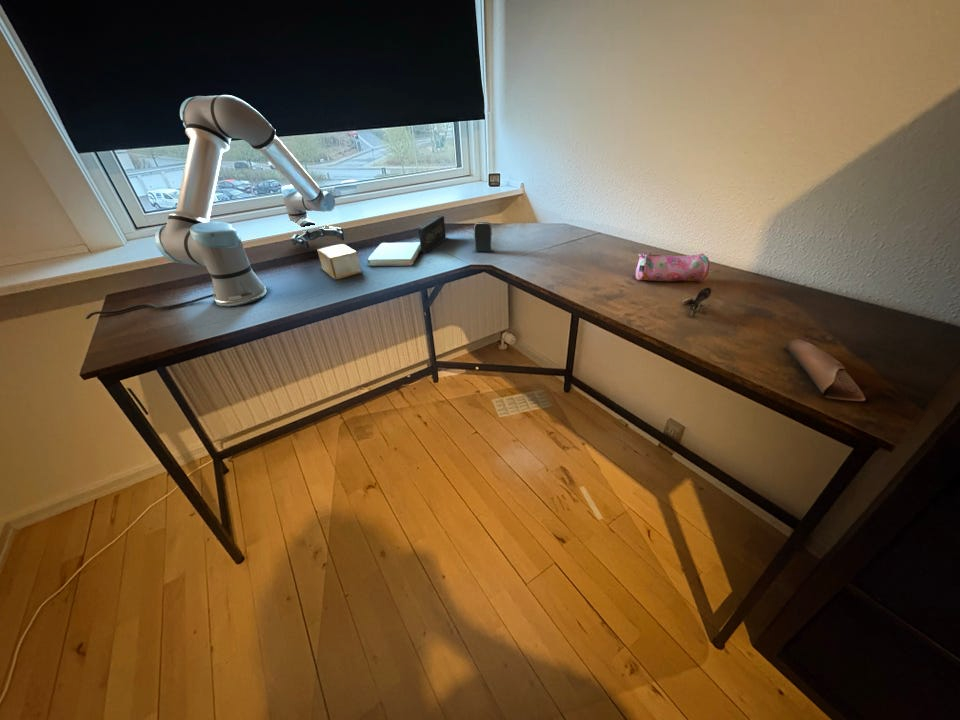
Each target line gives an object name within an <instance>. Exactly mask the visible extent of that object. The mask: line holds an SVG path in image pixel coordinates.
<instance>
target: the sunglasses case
mask: <svg viewBox="0 0 960 720" xmlns="http://www.w3.org/2000/svg"><path fill="white" fill-rule="evenodd" d="M785 348H786V350H787V351H788V352H789V354H791V356H792V357H793V358H794V359H795V360H796V361H797V362H798V363H799V365H800V366H801V368H802V369H803V371H805V373H807V375H808V377H809V378H810V379H811V380H812V382H813V383H814V384H815V386H816V388H818V390H819V391H820V393H822V394H823V396H824V398H825V399H830V400H834V401H835V400H836V401H842V402H843V401H844V402H866V401H867V399H866V397H865V394H864V393H863V391H862V390H861V389H860V387H859V386H858V384H857V383H856V382H855V380H854V379H853V378H852V377H851V376H850V374H849V373H848V372H847V371H846V367H845V366H844V365H843V364H842V363H841V362H840V361H839V360H838V359H836V358H835V357H833V356H832V355H831V354H829V353H828V352H827V351H825V350H823V349H822V348H819V347H817V346H816V345H814V344H812V343H810V342H808V341H805V340H803V339H800V338H797V339H796V338H795V339H793V340H791V341H789V342H788V343H787V344H786V345H785Z"/></svg>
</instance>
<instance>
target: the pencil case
mask: <svg viewBox="0 0 960 720" xmlns="http://www.w3.org/2000/svg"><path fill="white" fill-rule="evenodd" d="M637 256H638V262H637V265H636V268H635V279H636V280H638V281H654V282H678V281H687V282H691V281H694V282H699V283H702V282H703V281H704V280H705V279H706V278H707V276H708V274H709V271H710V260H709V257H708V256H707V255H705V254H704V253H697V254H690V255H669V254H668V255H666V254H658V253H652V252H648V253H646V252H645V253H638V254H637Z"/></svg>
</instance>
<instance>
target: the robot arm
mask: <svg viewBox="0 0 960 720" xmlns="http://www.w3.org/2000/svg"><path fill="white" fill-rule="evenodd" d="M179 117H180V120H181V121H182V122H183V123H182V125H183V127H184V128H185V130H184V134H185V135H186V136H187V137H188V139H189V143H188V147H187V154H186V157H185V158H186V159H185V162H184V168H183V172H182V179H181V184H180V187H179V193H178V199H177V204H176V209H175V211H174V212H171V213H169V214H168V217H167V222H166V224H165V225H162V226H160V227H159V228H158V229H157V230H156V231H155V235H154V243H155V246H156V248H157V250H158V251H159V253H161V255H162V256H163V257H164V258H165V259H167V260H168V261H170V262H172V263H177V264H181V265H184V266H185V265H186V266H187V265H193V266H202V267H203V266H204V267H206V269H207V272H208V274H209V275H210V277H211V281H212V292H213V293H212V294H208V295H205V296H202V297H198V298H195V299H191V300H188V301H185V302H180V303H176V304H170V305H157V304H154V303H149V302H148V303H140V304H135V305H132V306H127V307H123V308H121V309H115V310H98V311H92V312H90V313H88V314H87V315H86V316H85V320H89V319H91V318H92V317H93V316H95V315H102V314H105V315H107V314H118V313H123V312H126V311H131V310H134V309H138V308H141V307H153V308H155V309H159V310H160V309H162V310H164V309H172V308H173V309H174V308H177V307H182V306H186V305H190V304H193V303H196V302H199V301H203V300H207V299H210V298H213V299H214V301H215V304H216V305H218V306H220V307H238V306H243V305H247V304H251V303H253V302H256V301H258V300H260V299H262V298H263V297H264V296H265V295H266V294H267V293H268V290H267V288H266V285H265V284H264V283H263V282H262V280H261V279H260V278H259V276H257V274H256V272H254V271H253V268H252V266H251V262H250V261H249V258H248V254H247V253H246V250H245V248H244V244H243V242H242V239H241V236H240V235H239V233H238V231H237V229H236V228H235V226H234V225H233V224H231V223H228V222H226V221H225V222H224V221H210V220H211V213H212V209H213V204H214V199H215V193H216V188H217V183H218V178H219V173H220V168H221V162H222V157H223V153H225V152H229V151H230V146H231V141H232V139H233V140H236V139H237V140H242V141H244V142H246V143H247V144H248V145H250V147H252V148H253V149H254V150H258V151H259V152H260V153H261V154H262V155H263V156H264V158H265V159H266V160H268V162H269V163H271V164H272V166H273V167H274V168H275V169H276V170H277V171H278V172H279V173H280V174H281V175H282V176H283V178H284V179H285V180H286V181H287V182H288V184H289V185H284V186H282V187H281V188H280V192H281V195H282V199H283V202H284V206H285V209H286V211H287V215H288V220H289V219H290V221H293V222H295V223H297V224H298V225H300V226H301V227H305V226H310V225H315V224H316V223H315V222H314V221H312V220H310V219H308V218H309V215H308V212H322V213H325V212H332V211H334V209H335V206H336V199H335V196H334V194H332V192H330V191H326V190H324V191H323V190H322V188H320V186H319V185H318V184H317V183H316V181H315V180H314V179H313V178H312V177H311V175H309V173H308V172H307V170H305V168H304V167H303V166H302V165H301V163H300V162H299V161H298V160H297V159H296V158H295V156H294V155H293V154H292V153H291V152H290V151H289V150H288V148H287V147H286V146H285V145H284V143H283V142H282V140H280V139H279V138H278V136H277V132H276V129H275V128H274V126H272V124H271V123H270V122H269V121H268V120H267V119H266V118H265V116H264V115H262V114H261V113H260V112H259V111H258V110H257V109H255V108H254V107H253V106H251V105H250V104H249V103H247V102H246V101H244V100H243V99H241V98H239V97H236V96H234V95H229V94H221V95H206V96H205V95H195V96H192V97H188V98H186V99H185V100H184V101H183V102H182V103H181V105H180V108H179ZM324 228H325V227H322V228H318V229H319V230H314V231H309V232H308V230H307V231H303V234H301V235H300V236H299V235H298V233H297V234H293V235H292V237H291V238H290V240H291V242H292V246H296V245H298V247H302V246H304V247H305V248H306V249H310V246H309V242H308V241H315V240H317V239H318V238H320V237H321V238H324V237H336V238H337V239H339V240H341V241H345V237H344V235H345V233H344V232H345V231H344V228H343V227H337V226H329V229H324ZM126 389H127V391H128V392H129V393H130V396H132V397H133V399H134V400H135V402H136V403H137V404H138V405H139V407H140V408H141V410H142V411H143V413H144V414H145V415H146V416H148V415H149V414H150V412H148V410H147V409H146V407H145V405H143V403H142V402H141V401H140V399H139V398H138V396H137V395H136V393H135V392H134V391H133V390H132V389H131V388H130V387H127V388H126Z"/></svg>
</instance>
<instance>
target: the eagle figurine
mask: <svg viewBox="0 0 960 720" xmlns="http://www.w3.org/2000/svg"><path fill="white" fill-rule="evenodd" d="M711 294H712V289H711V287H705V288H703V289H701V290H700V291H698V292H697V294H696V296H695V298H693V297H690V298H687V299H685V300H683V301H682V305H683V306H685V305H688V306H689V307H690V308H689V309H688V311H691V313H690V315H689V316H690V317H692V316H694V315H695V314H696V313H697V312H698V311H699V312H701V313H703V309H707V308H709V307H710V306H711V304H707V305H705V306H703V303H702V302H703V301H705V300H707V299H709V298H710V296H711Z"/></svg>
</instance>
